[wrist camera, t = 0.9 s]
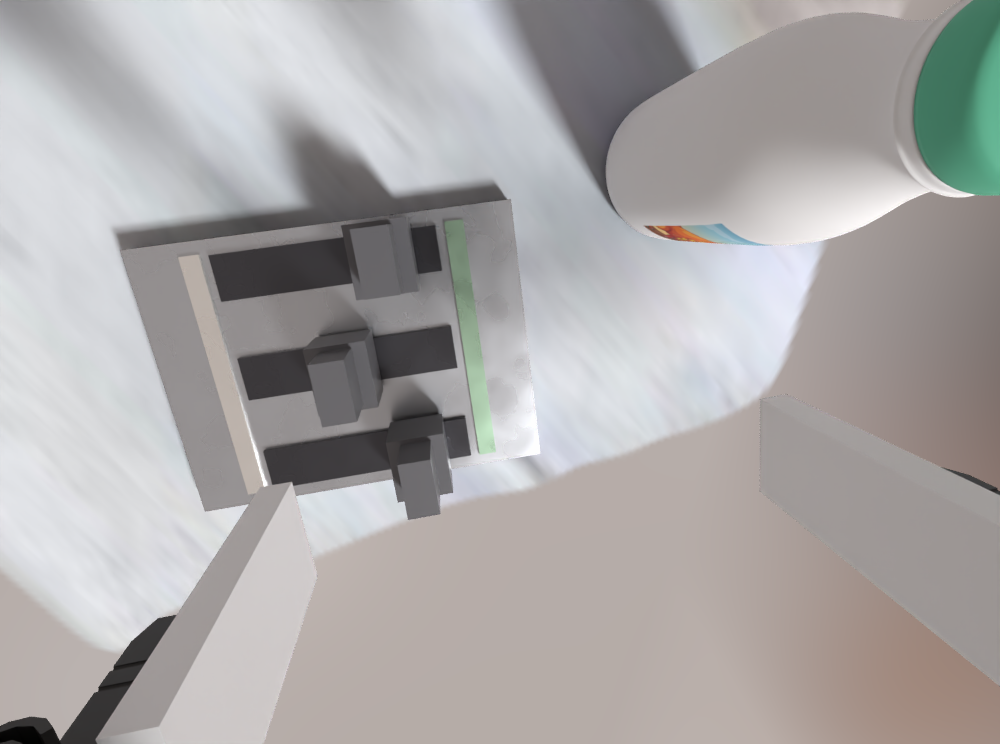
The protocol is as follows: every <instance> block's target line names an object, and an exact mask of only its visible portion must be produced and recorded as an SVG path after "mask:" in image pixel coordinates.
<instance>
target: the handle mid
mask: <svg viewBox="0 0 1000 744" xmlns="http://www.w3.org/2000/svg"><path fill="white" fill-rule="evenodd" d="M303 354H304V358H305V362H306V367H307V371H308V375H309V379H310V383H311V387H312V391H313V396H314V400H315V404H316V408H317V412H318V416H319V417H320V420H321V425H322V428H323V427H329V426H335V425H341V424H347V423H353V422H357V421H358V418H359V416H360V413H361V410H364V409H371V408H377V407H379V403H380V400H381V396H382V393H383V385H382V380H381V375H380V370H379V365H378V360H377V355H376V350H375V345H374V340H373V335H372V330H371V329H368V330H362V331H355V332H348V333H341V334H335V335H328V336H321V337H315V338H314V339H313V340H312V341H311V342H310V343H309V344H308V345H307V346H306V347H305V348H304V349H303Z"/></svg>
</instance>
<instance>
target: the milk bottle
mask: <svg viewBox="0 0 1000 744" xmlns="http://www.w3.org/2000/svg"><path fill="white" fill-rule="evenodd" d="M606 182H607V188H608V192H609V196H610V198H611V201H612V203H613V205H614V207H615V209H616V211H617V212H618V214H619V215H620V216H621V218H622V219H623V220H624V221H625V222H626V223H627V224H628V225H629V226H630V227H632V228H633V229H635V230H636V231H638V232H640V233H642V234H644V235H646V236H650V237H653V238H659V239H665V240H677V241H691V242H705V243H720V244H739V245H796V244H804V243H811V242H817V241H821V240H826V239H829V238H833V237H836V236H840V235H843V234H845V233H848V232H850V231H853V230H855V229H858V228H860V227H862V226H864V225H867V224H868V223H870V222H872V221H874V220H876V219H878V218H879V217H881V216H883V215H884V214H886V213H888V212H889V211H891V210H893V209H894V208H896V207H897V206H899V205H901V204H903V203H904V202H906V201H908V200H910V199H913V198H915V197H917V196H920V195H922V194H925V193H928V192H931V191H932V192H934V193H937V194H940V195H943V196H948V197H968V196H973V195H1000V0H960V1H959V2H957V3H955V4H954V5H952V6H951V7H949V8H948V9H947V10H945V11H944V12H943V13H942V14H940V15H939V16H938V17H937V18H936V19H934V20H904V19H899V18H894V17H889V16H883V15H876V14H869V13H836V14H828V15H822V16H817V17H812V18H808V19H804V20H801V21H798V22H795V23H792V24H789V25H786V26H784V27H781V28H778V29H776V30H774V31H772V32H770V33H768V34H766V35H763V36H761V37H759V38H757V39H755V40H753V41H751V42H749V43H747V44H745V45H743V46H741V47H739V48H737V49H735V50H734V51H732V52H730V53H728V54H726V55H724V56H723V57H721V58H719V59H717V60H715V61H714V62H712V63H710V64H708V65H706V66H705V67H703V68H701V69H699V70H697V71H696V72H694V73H692V74H690V75H689V76H687V77H685V78H683V79H682V80H680V81H678V82H676V83H675V84H673V85H671V86H669V87H668V88H666V89H664V90H663V91H661V92H659V93H657V94H656V95H654V96H652V97H651V98H649V99H647V100H646V101H644V102H643V103H641V104H640V105H639V106H637V107H636V108H635V109H634V110H633V111H631V112H630V113H629V114H628V116H627V117H626V118H625V119H624V120H623V122H622V123H621V124H620V126H619V127H618V129H617V131H616V133H615V135H614V137H613V139H612V141H611V144H610V147H609V151H608V155H607V161H606Z"/></svg>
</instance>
